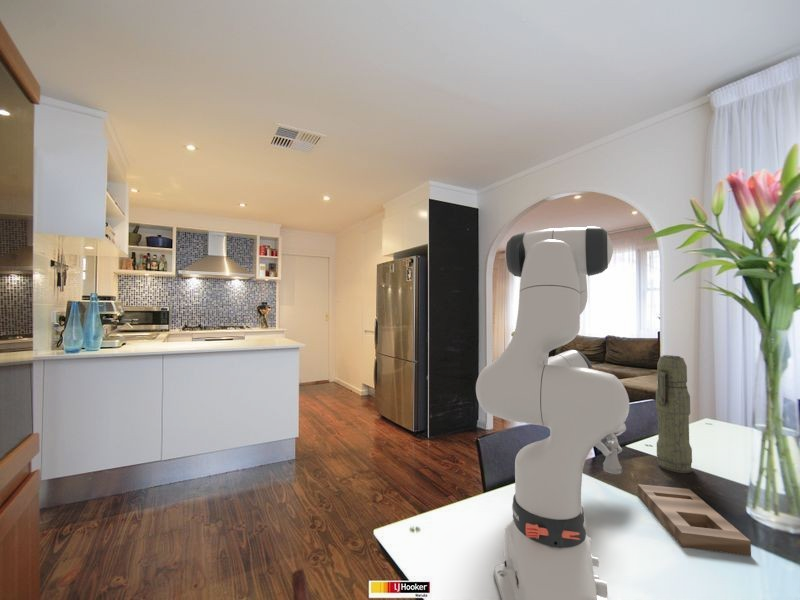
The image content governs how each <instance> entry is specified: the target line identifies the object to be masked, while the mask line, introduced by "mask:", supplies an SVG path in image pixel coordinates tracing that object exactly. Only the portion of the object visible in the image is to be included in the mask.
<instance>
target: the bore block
mask: <svg viewBox="0 0 800 600" xmlns="http://www.w3.org/2000/svg"><path fill="white" fill-rule="evenodd" d="M637 497H638V498H639V499H640V500H641V501H642V502H643V503H644V504H645V506H646V507H647V508H648V510H650V512H651V513H652V514H653V515H654V516H655V517H656V518H657V520H659V522H660V523H661V524H662V526H663V527H664V528H665V529H666V530H667V531H668V533H669V534H670V535H671V536H672V537H673V538H674V539H675V541H676V542H677V543H678V544H679V545H680V546H681V548H685V549H692V550H701V551H707V552H708V551H709V552H716V553H724V554H733V555H740V556H747V557H751V556H752V546H751V544H752V541H751V539H749V538H748V537H747V536H745V535H744V534H743V533H742V532H741V531H740V530H738V529H737V528H736V527H735V526H734V525H733V524H732V523H730V522H729V521H728V520H726V519H725V518H724V517H723V516H722V515H721V514H720V513H719V512H717V511H716V510H715V509H713V507H711V506H710V505H709V504H708V503H707V502H705V501H704V500H703V498H701V497H700V496H698V495H697V494H696V493H695V492H694V491H692V490H691V489H690V488H680V487H671V486H661V485H650V484H640V483H637Z"/></svg>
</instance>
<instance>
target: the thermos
mask: <svg viewBox="0 0 800 600" xmlns="http://www.w3.org/2000/svg"><path fill="white" fill-rule="evenodd" d="M656 366H657V368H656V369H657V370H656V372H657V377H656V378H657V381H658V383H657V389H656V391H655V409H656V412H657V433H658V435H657V436H658V439H657V442H656V457H657V465H658V466H659V467H660V468H662V469H664V470H666V471H670V472H673V473H680V474H689V473H691V472H692V471H693V469H692V463H693V452H692V451H693V448H692V446H691V444H690V418H689V417H690V415H691V396H690V393H689V391H688V386H687V383H688V368H687V367H688V366H687V364H686V362H685V359H684V357H681V356H679V355H668V354H665V355H664V354H663V355H662V356H659V358H658V362H657V365H656Z"/></svg>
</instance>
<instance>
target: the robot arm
mask: <svg viewBox="0 0 800 600" xmlns="http://www.w3.org/2000/svg"><path fill="white" fill-rule="evenodd" d="M613 252H614V247H613V242H612V240H611V238H610V236H609V234H608V231H607V230H606V229H604V228H603V227H599V226H589V225H588V226H586V227H562V228H561V227H560V228H555V227H554V228H546V229H540V230H533V231H530V232H520V233H517V234H514V235H512V236H511V237H510V238H509V240H507V243H506V246H505V250H504V260H505V264H506V266H507V270H508V272H510V273H511V274H512V275H513V276H514V277H517V278H520V281H519V290H518V291H519V294H518V296H519V297H518V308H517V309H518V310H517V317H516V318H517V319H516V323H515V324H516V326H515V329H514V333H513V336H512V337H511V340H510V342H509V344H508V346H507V347H506V348H505V349H504V351H503V352H502V353H501V354H500V355H499V356H498V357H497V358H496V359H494V360H493V361H492V362H490V363H488V364H487V365H486V366H484V367H483V368H482V370H481V371H480V373H479V375H478V377H477V380H476V383H475V394H476V399H477V401H478V404H479V406H480V407H481V409H482V410H483V411H484V413H486V414H489V415H491V416H494V417H496V418H500V419H502V420H506V421H508V422H517V423H523V424H527V425H528V424H529V425H535V426H542V427H545V428H548V429H549V431H550V432H549V434H550V435H549V436H548V437H546V438H544V439H541V440H538V441H534V442H532V443H529V444H527V445H525V446H523V447H522V448H520V450H519V451H518V453H517V454H516V456H515V460H514V479H515V481H514V482H515V483H514V485H515V486H514V489H515V491H514V492H515V493H514V495H513V497H512V504H511V505H512V506H511V510H512V518H513V519H512V521H511V522H510V523H509V524H508V525H506V527H505V528H504V545H503V547H504V550H503V554H504V555H503V556H504V557H503V563H499V564H498V565H496V566H494V569H493V576H494V579H495V583H496V585H497V589H498V592H499V595H500V597H501V600H609V598H608V597H609V596H608V585H607V581H606V580H604V579H602V578H600V577H599V575H597V574H595V572H594V567H595V568H599V567H600V564H599V563H600V562H599V558H598V556H593V555H592V538H591V537H589V536H588V534H587V532H586V518H585V517H586V516H585V511H584V508H583V506H582V481H583V471H584V466H585V462H586V460H587V458H588V456H589V454H590V452H591V450H593V448H597V450H599V451H600V452H601V453H602V454H603V456H604V457H606V456H609V455H611V454H612V453H613V452H612V450H611V449H610V448H609V446H608V447H607V446H606V444H605V443H603V442H602V440H605V439H610V441H612V439H614V441H615V440H617V443H618V444H619V441H618V436H620V435H622V434H623V433H624V432H626V431H627V426H626V424H625V422H626V420H627V418H628V416H629V413H630V398H629V395H628V392H627V389H626V388H625V386H624V384H623V383H622V381H621V380H620V379H619V378H618V377H617V376H616V375H615V374H613V373H609V372H605V371H601V370H597V369H593V365H592V363H591V362H590V360H589V359H588V357H587V356H586V355H585V354H583V353H582V352H580V351H579V350H577V349H568V350H565V351H563V352H561V353H558V354H556V355H554V356H553V355H552V356H549V353H550V352H551V351H553V350H556V349H558V348H560V347H563V346H565V345H567V344H569V343H570V342H572V341H573V340H575V338H576V337H577V336H578V334H579V332H580V328H581V327H580V326H581V325H580V324H581V320H580V319H581V318H580V317H581V316H580V315H581V314H583V312H584V310H585V309H586V306H587V302H588V283H587V282H588V281H587V277H590V276H595V275H598V274H602V273H604V272H605V271H606V270H607V269H608V268H609V264H610V263H611V260H612V257H613V254H614V253H613ZM617 450H618V452H617V454H620V453H622V452H623V448H622V447H621V446H620V445H619V446H618V447H617Z"/></svg>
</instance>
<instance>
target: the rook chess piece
mask: <svg viewBox="0 0 800 600" xmlns="http://www.w3.org/2000/svg"><path fill="white" fill-rule="evenodd" d="M605 439H606V438H605ZM617 440H618V439H617ZM617 440H615V441H614V439H612V441H610V439H606V441H605V442H604V445H605V446H606V447H608V446H609V448H610V449H611V450H612V452H613V453H612V454H611V455H609V456H605V459H604V462H602V466H603V467H602V469H603V471H604V472H605V473H608V474H612V475H621V474H622V473H623V470H622V468H623V467H622V465H621V463H620V461H619V456H618V453H617V452H618V450H617V447H618V446H620V444H619V442H618V443H617Z"/></svg>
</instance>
